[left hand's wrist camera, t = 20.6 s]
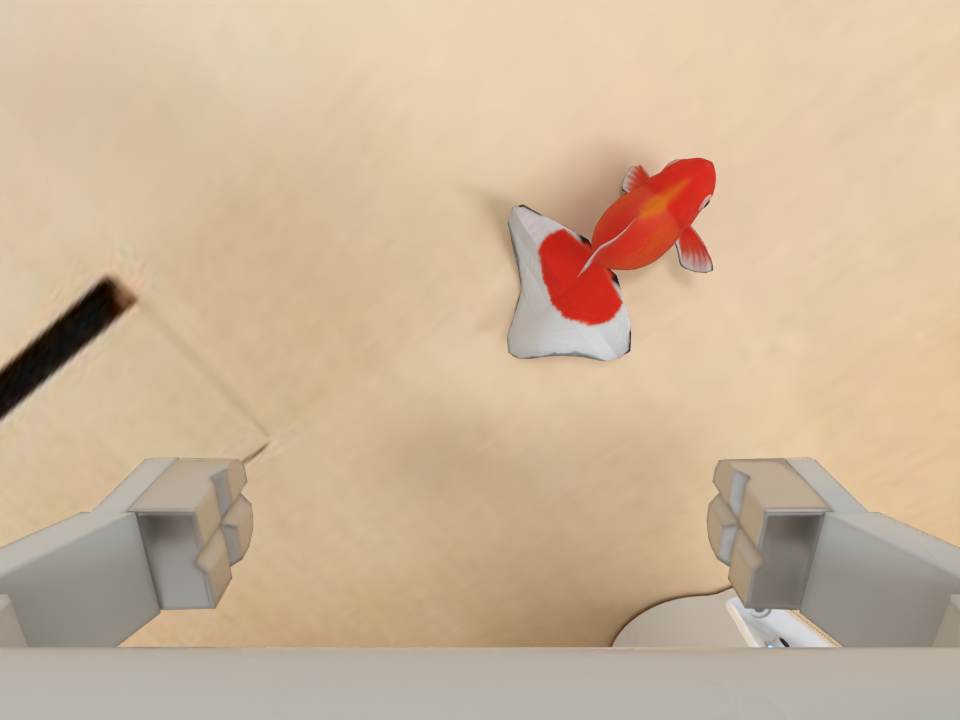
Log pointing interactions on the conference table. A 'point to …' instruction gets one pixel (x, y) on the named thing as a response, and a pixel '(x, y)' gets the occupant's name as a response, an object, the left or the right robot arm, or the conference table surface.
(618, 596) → the conference table surface
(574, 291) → the fish
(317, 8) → the conference table surface
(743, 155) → the conference table surface
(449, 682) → the left robot arm
